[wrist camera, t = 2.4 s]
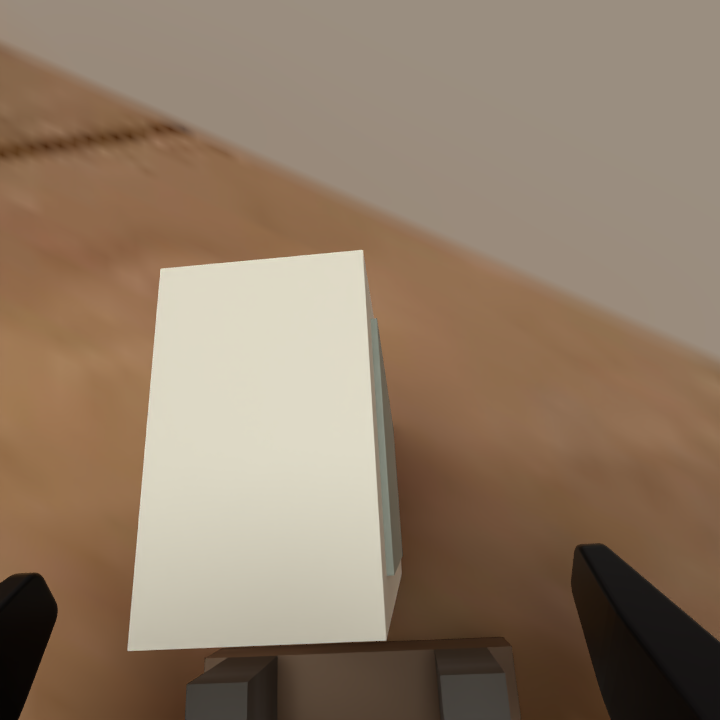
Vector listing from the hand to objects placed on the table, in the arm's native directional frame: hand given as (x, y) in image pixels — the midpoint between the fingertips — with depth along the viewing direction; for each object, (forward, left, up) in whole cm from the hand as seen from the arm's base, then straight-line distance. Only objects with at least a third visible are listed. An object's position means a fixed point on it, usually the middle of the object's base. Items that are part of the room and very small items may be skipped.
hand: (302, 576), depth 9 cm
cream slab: (+2, -1, -9) cm, 9 cm away
